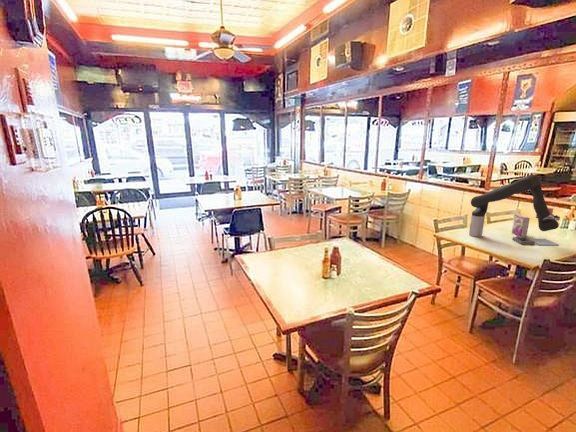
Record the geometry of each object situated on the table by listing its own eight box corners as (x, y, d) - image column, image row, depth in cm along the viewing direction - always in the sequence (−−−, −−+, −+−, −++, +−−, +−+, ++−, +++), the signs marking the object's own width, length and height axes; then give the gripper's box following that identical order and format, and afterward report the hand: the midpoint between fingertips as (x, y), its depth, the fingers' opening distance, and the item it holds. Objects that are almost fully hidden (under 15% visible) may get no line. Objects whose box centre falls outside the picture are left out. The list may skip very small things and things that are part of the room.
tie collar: (510, 239, 248) (510, 236, 247) (523, 239, 247) (524, 236, 246) (520, 244, 236) (521, 241, 235) (534, 244, 235) (534, 241, 235)
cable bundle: (539, 225, 239) (542, 207, 235) (546, 225, 238) (549, 207, 235) (544, 227, 234) (547, 209, 230) (551, 227, 233) (555, 209, 230)
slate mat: (526, 239, 247) (526, 238, 246) (545, 239, 246) (545, 238, 245) (539, 245, 233) (539, 244, 233) (558, 245, 232) (558, 244, 232)
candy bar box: (511, 232, 263) (514, 214, 258) (517, 232, 262) (520, 214, 258) (520, 237, 252) (523, 217, 248) (526, 237, 252) (530, 217, 247)
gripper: (562, 216, 218) (560, 211, 231) (536, 213, 226) (536, 208, 239) (559, 226, 220) (558, 220, 233) (534, 223, 228) (534, 218, 241)
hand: (547, 214), depth 236 cm, fingers closed on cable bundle, 5 cm apart
